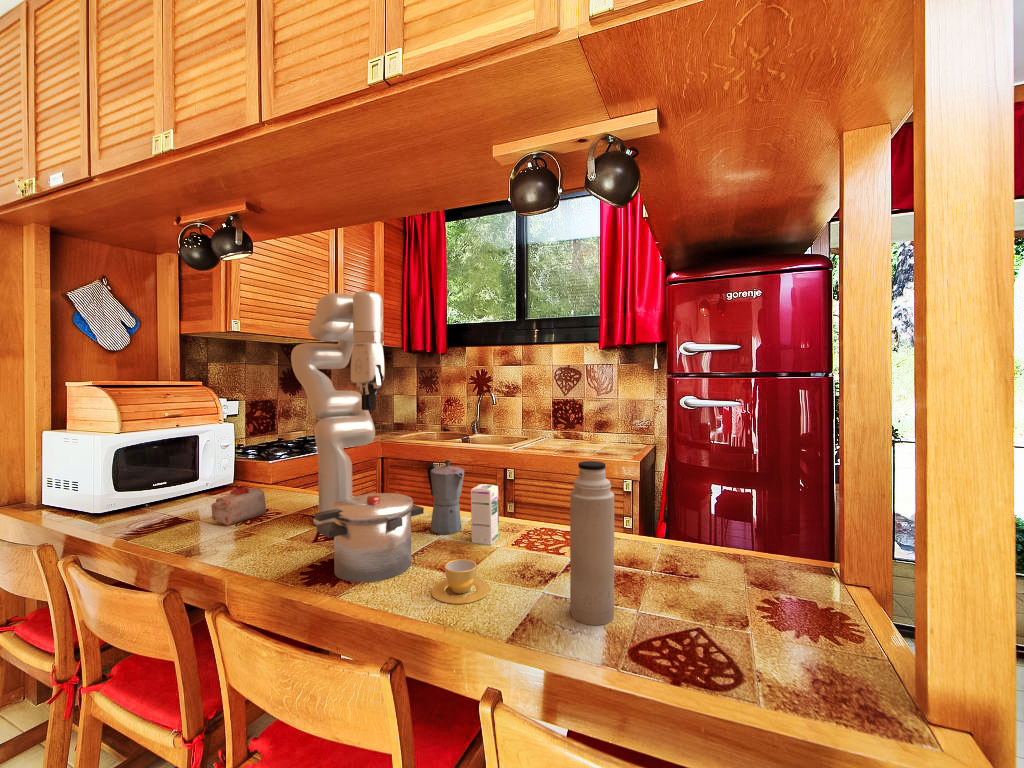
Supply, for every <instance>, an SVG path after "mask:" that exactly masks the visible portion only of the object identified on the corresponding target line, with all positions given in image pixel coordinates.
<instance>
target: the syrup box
mask: <svg viewBox="0 0 1024 768" xmlns="http://www.w3.org/2000/svg"><path fill="white" fill-rule="evenodd" d="M499 507H500V506H499V486H498V485H495V484H487V483H484V484H483V483H480V484H477V486H474V487H473V488H471V489H470V509H471V512H470V514H471V515H470V516H471V518H470V519H471V520H470V521H471V522H470V523H471V542H472V543H473V544H477V545H487V546H492V545H493V544H494V543H495V542H496V541H497V540H498V539H499V538H500V520H499V519H500V516H499V514H500V511H499Z"/></svg>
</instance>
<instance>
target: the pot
mask: <svg viewBox="0 0 1024 768" xmlns="http://www.w3.org/2000/svg"><path fill="white" fill-rule="evenodd" d="M424 511H425V510H424V507H422V506H419V505H417V504H414V503H413V510H412V511H411V512H409V513H407V514H405V515H403V516H400V517H397V518H393V519H388V520H383V521H375V522H346V521H341V520H337V519H335V518H334V521H332V522H327V523H323V524H319V525H317V526H316V532H317V533H319V534H321V535H322V536H324V537H326V538H327V539H330V538H333V555H334V557H333V559H334V560H333V561H334V563H333V565H334V567H333V568H334V576H336V577H337V578H338V579H339V578H340V580H341V579H342V581H344V580H345V581H344V582H348V581H351V582H350V583H356V582H368V583H376V581H377V582H382V581H386V580H385V579H387V580H390V579H393V578H395V576H396V577H398V576H400V575H402V574H404V573H406V572H407V571H408V570H409V569H410V568H411V566H412V517H416V516H419V515H423V514H424ZM409 567H410V568H409ZM408 568H409V569H408ZM407 569H408V570H407ZM406 570H407V571H406ZM403 572H404V573H403ZM401 573H402V574H401ZM397 575H398V576H397ZM392 577H393V578H392ZM389 578H390V579H389ZM381 580H382V581H381Z"/></svg>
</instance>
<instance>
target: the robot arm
mask: <svg viewBox="0 0 1024 768" xmlns="http://www.w3.org/2000/svg"><path fill="white" fill-rule="evenodd" d="M383 303H384V301H383V296H382V295H381V294H380V293H379V292H375V291H364V290H363V291H357V292H355V293H354V294H347V293H335V292H332V293H331V292H330V293H326V294H325V295H323V296H322V297H320V298H319V299H318V301H317V303H316V307H315V316H313V317H312V318H311V319H310V320H309V322H308V324H307V325H308V326H307V330H308V333H309V334H310V336H311V337H312V338H313V339H315V340H317V341H322V342H323V343H320V342H318V343H317V342H306V343H300V344H297V345H296V346H294V347H293V349H292V350H291V355H290V361H291V367H292V370H293V373H294V376H295V378H296V380H298V382H299V384H301V387H302V388H303V389H304V392H305V395H306V398H307V400H308V403H309V407H310V410H311V412H312V414H313V416H314V418H315V419H316V420H318V422H316V424H315V426H314V430H313V431H314V438H315V445H316V450H317V466H318V470H317V471H318V472H317V473H318V477H317V478H318V507H317V509H318V513H319V512H323V511H328V510H331V507H332V505H333V504H334V503H336V502H337V501H340V500H342V499H345V498H349V497H353V463H352V459H351V457H350V456H349V454H347V453H346V451H345V450H344V448H352V447H362V446H366V445H369V444H371V443H373V441H374V440H375V437H376V428H375V424H374V421H373V418H372V416H371V413H370V411H375V410H376V407H377V404H376V403H377V399H376V398H377V397H376V396H377V394H378V392H377V391H378V389H379V388H381V387H382V382H384V380H385V375H386V374H385V373H386V372H385V370H386V369H385V368H386V366H385V355H384V353H385V352H384V347H383V346H384V306H383V305H384V304H383ZM324 342H333V343H324ZM349 363H350V381H351V382H352V383H355V384H356V387H357V388H359V389H360V391H359V392H358V391H356V390H337V389H336V388H335V386H334V384H333V382H332V379H330V378H329V377H328V375H326V374H325V373H324V372H322V371H320V370H339V369H340V370H341V369H344V368H347V365H348V364H349ZM332 521H334V518H332V519H328V520H324V521H318V520H316V519H315V517H314V518H313V521H312V522H313V525H315V526H316V527H317V525H319V524H323V523H327V522H332Z"/></svg>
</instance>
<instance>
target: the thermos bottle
mask: <svg viewBox="0 0 1024 768" xmlns="http://www.w3.org/2000/svg"><path fill="white" fill-rule="evenodd" d="M577 467H578V468H579V470H578V477H577V478H575V479H574V480H573V486H572V487H573V490H571V491H570V494H569V497H570V498H569V499H570V500H569V501H570V502H569V503H570V504H569V505H570V507H569V509H570V510H569V511H570V513H569V514H570V515H569V517H570V519H569V520H570V521H569V522H570V523H569V524H570V525H569V531H570V532H569V534H570V535H569V537H570V538H569V541H570V542H569V543H570V545H569V549H570V551H569V552H570V553H569V557H570V558H569V559H570V573H569V574H570V575H569V576H570V580H569V583H570V587H569V591H570V593H569V596H570V598H569V600H570V601H569V602H570V603H569V606H570V607H569V608H570V610H569V611H570V615H571V617H572V618H573V619H575V620H576V621H577V622H579V623H582V624H585V625H588V626H589V625H590V626H602V625H607V624H608V623H610V622H612V621H613V620H614V617H615V561H614V558H615V554H614V553H615V493H614V492H612V490H611V488H612V485H611V481H610V479H608V478H606V477H607V476H606V470H605V469H606V463H605V462H603V461H602V462H601V461H598V460H597V461H595V460H585V461H579V462H578V466H577Z"/></svg>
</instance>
